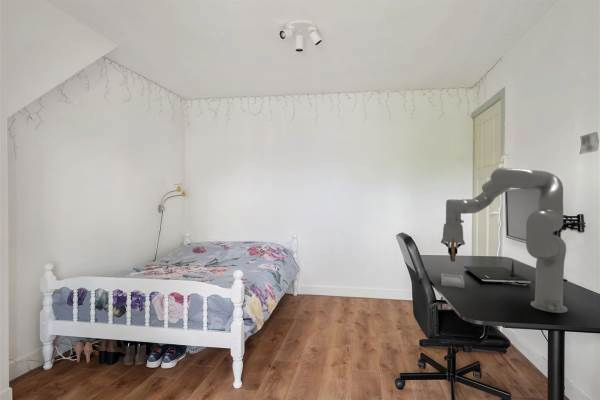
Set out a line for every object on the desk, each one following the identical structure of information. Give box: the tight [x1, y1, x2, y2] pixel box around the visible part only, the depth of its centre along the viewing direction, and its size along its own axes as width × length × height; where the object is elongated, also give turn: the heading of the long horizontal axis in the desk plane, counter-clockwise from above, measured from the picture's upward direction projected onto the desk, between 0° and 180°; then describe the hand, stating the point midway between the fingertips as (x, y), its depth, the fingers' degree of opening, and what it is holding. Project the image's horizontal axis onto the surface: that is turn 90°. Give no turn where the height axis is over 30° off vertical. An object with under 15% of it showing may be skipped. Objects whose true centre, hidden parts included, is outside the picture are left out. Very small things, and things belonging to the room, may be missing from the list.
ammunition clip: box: [449, 239, 456, 263], centre depth 180 cm, size 11×2×12 cm, turn 157°
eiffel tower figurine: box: [504, 260, 528, 286], centre depth 182 cm, size 15×10×13 cm
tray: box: [440, 273, 465, 289], centre depth 181 cm, size 18×11×2 cm, turn 157°
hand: (452, 254), depth 180 cm, fingers closed on ammunition clip, 2 cm apart
